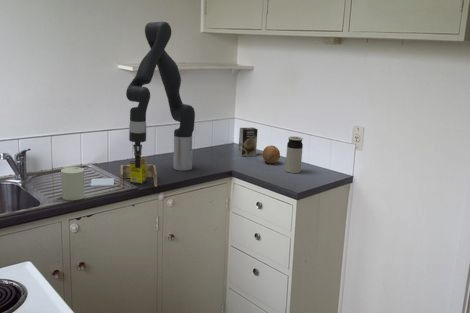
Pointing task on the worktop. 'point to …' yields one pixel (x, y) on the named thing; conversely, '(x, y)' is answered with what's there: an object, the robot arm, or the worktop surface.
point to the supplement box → (138, 172)
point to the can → (72, 183)
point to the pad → (102, 182)
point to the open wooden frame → (150, 173)
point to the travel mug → (294, 154)
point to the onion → (271, 154)
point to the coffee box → (247, 142)
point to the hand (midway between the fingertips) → (137, 165)
